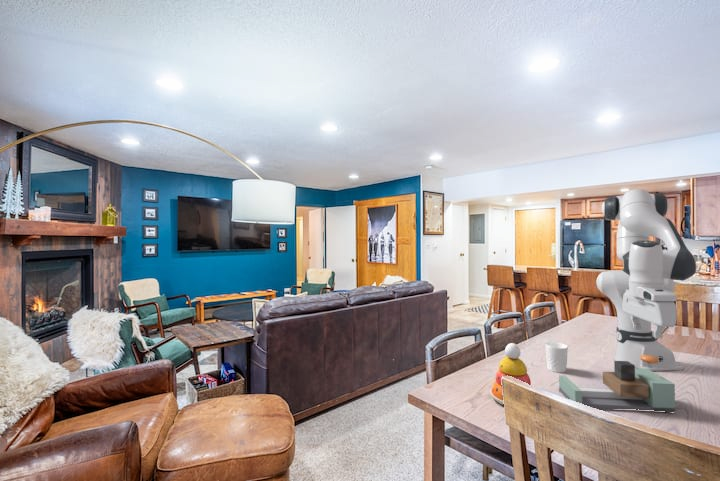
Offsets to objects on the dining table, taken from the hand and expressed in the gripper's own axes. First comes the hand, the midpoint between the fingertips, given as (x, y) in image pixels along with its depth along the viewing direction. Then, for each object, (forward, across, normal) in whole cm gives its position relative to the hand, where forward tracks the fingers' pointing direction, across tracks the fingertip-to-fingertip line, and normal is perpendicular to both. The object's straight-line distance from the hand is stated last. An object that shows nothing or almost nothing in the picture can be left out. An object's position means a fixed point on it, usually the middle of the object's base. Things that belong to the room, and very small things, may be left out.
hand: (646, 333), depth 109 cm
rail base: (+23, 0, -10) cm, 25 cm away
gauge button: (+11, 0, +1) cm, 11 cm away
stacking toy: (+23, +4, -42) cm, 48 cm away
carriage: (+19, 0, -7) cm, 20 cm away
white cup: (+23, -25, -18) cm, 39 cm away
